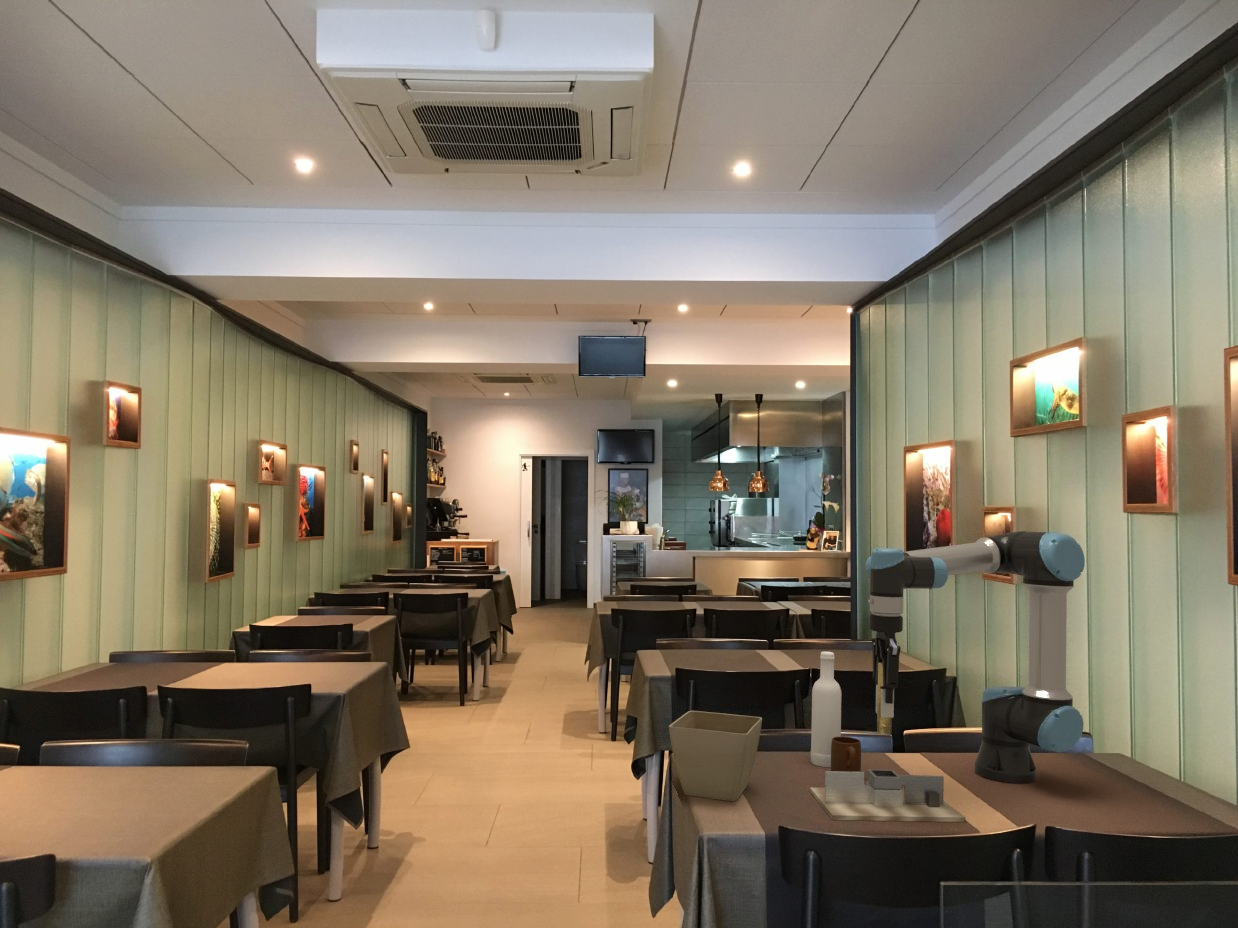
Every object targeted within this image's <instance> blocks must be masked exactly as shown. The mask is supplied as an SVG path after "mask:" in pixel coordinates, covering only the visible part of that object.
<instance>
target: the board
mask: <svg viewBox="0 0 1238 928" xmlns="http://www.w3.org/2000/svg"><path fill="white" fill-rule="evenodd" d="M901 790H902V808H882V807H874V806H873V805H872V804H869V803H825V787H810V788H809V792H810V794H811V795H812V796H813V798H815V800H816V801H817V803H818V804H819V805H820V806H821V807H822V809H823V810H824V811H825V812H826V814H827V815H828V816H829V818H830V819H831V820H832V821H872V822H873V821H877V822H880V821H881V822H882V821H883V822H884V821H885V822H888V821H889V822H933V823H934V822H939V823H940V822H944V823H947V822H948V823H949V822H950V823H966V819H967V818H966V816H965V815H963V814H962V813H961V812H959V811H958V810H957V809H956V808H954V806H952V805H951V804H950V803H949V802H947V801H946V800H945V799H944V804H939V807H928V806H927V804H924V803H904V788H901Z"/></svg>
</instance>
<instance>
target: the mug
mask: <svg viewBox="0 0 1238 928" xmlns="http://www.w3.org/2000/svg"><path fill="white" fill-rule="evenodd" d="M830 771H846V772H862V742H861V740H860V739H858V738H855V737H851V736H841V737H834V738H832V742H831V767H830Z"/></svg>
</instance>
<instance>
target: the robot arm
mask: <svg viewBox="0 0 1238 928" xmlns="http://www.w3.org/2000/svg"><path fill="white" fill-rule="evenodd" d="M1084 553H1085V552H1084V550H1083V548H1082V546H1081V545H1080V543H1079V542H1077V540H1076V539H1075V538H1074V537H1073V536H1071V535H1069V534H1066V533H1059V532H1054V531H1049V532H1047V531H1045V532H1044V531H1024V530H1020V531H1018V530H1017V531H1012V532H1007V533H1002V534H997V535H992V536H991V535H990V536H984V537H981V538H978V539H977V540H976V541H975V542H969V543H962V544H954V545H953V544H952V545H947V546H938V547H933V548H932V547H931V548H924V549H915V550H909V551H904V550H903V549H902V548H901V549H900V548H887V547H885V548H884V547H878V548H877V547H876V548H873V549H872V550H871V553H870V556H869V557H868V558H867V559H866V562H865V567H864V569H865V574H866V576H867V578H868V579H869V586H870V587H869V592H870V593H869V599H867V602H868V604H869V611H870V612H871V614H869V625H868V627H869V630H871V631H873V632H876V634H875V638H874V637H872V638H871V646H872V680H873V681H874V683H875V714H877V700H878V662H882V666H883V686H880V689H881V717H891V719H893V718H894V717H895V716H894V711H895V707H894V706H895V704H894V703H895V689H898V688H899V673H900V672H899V671H900V669H899V668H900V654H901V645H898V641H897V640H896V634H897V633H901V632H903V631H904V627H903V625H904V617H903V616H902V615H901V614H903V613H904V590H905V589H906V590H907V589H912V590H913V589H917V590H918V589H921V590H922V589H923V590H933V589H941V588H942V587H944V586H945V585H946V583H947V582H948V578H949V576H954V575H961V574H962V575H963V574H968V573H974V572H975V573H976V572H982V573H984V574H988V575H989V574H997V573H998V574H999V573H1000V574H1009V575H1017V576H1022V585H1023V586H1024V587H1025V588H1026V589H1027V590H1028V591H1029V592H1028V594H1029V598H1028V599H1029V601H1028V602H1029V603H1028V604H1029V606H1028V607H1029V609H1028V610H1029V611H1028V613H1029V615H1028V617H1029V618H1028V619H1029V620H1028V621H1029V622H1028V685H1027V686H1026V687H1024V686H990V687H986V688H985V689H984V690H983V692H982V699H981V744H980V748H979V749H978V752H977V756H976V758H975V762H974V772H975V774H977V775H978V776H980V777H983V778H986V779H989V780H993V781H996V782H997V781H998V782H1001V783H1003V782H1004V783H1012V784H1013V783H1015V784H1025V783H1026V784H1027V783H1029V784H1030V783H1033V782H1036V781H1037V774H1038V773H1037V772H1038V771H1037V767H1036V764H1035V761H1034V758H1033V756H1032V752H1031V748H1030V745H1033V746H1036V747H1039V748H1041V749H1043V750H1045V751H1053V752H1057V753H1063V752H1067V751H1069V750H1071V749H1072V748H1074V747H1075V745H1076V744H1077V743H1078V742H1079V741H1080V739H1081V738H1082V735H1083V732H1084V718H1083V715H1082V714H1081V713H1080V711H1079V710H1078V709H1077V708H1076V707H1074V706H1073V695H1072V694H1071V693H1070V692H1069V691H1068V690H1067V618H1068V617H1067V613H1068V612H1067V605H1068V604H1067V602H1068V601H1067V597H1068V593H1069V592H1070V591H1071V590H1072V589H1073V588H1074V582H1075V580H1077V579H1078V578H1080V577H1081V576H1082V572H1084V569H1085V562H1086V561H1085V554H1084Z"/></svg>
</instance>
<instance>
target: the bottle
mask: <svg viewBox="0 0 1238 928" xmlns="http://www.w3.org/2000/svg"><path fill="white" fill-rule="evenodd" d="M819 659H820V665H819V666H820V670H819V672H820V673H819V678H818V679H817V680H816V681H815V682H814V684H813V686H812V690H811V735H810V738H811V742H810V743H811V745H810V747H811V748H810V763H811V764H813V765H814V766H817V767H821V768H831V742H832V738H834V737H842V736H841V735H842V733H841V732H842V731H841V730H842V689H841V686H840V684H839V682H838V681H836V679H835V678H834V677H835V659H836V657H835V653H834V652H832V651H821V652H820V656H819Z"/></svg>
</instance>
